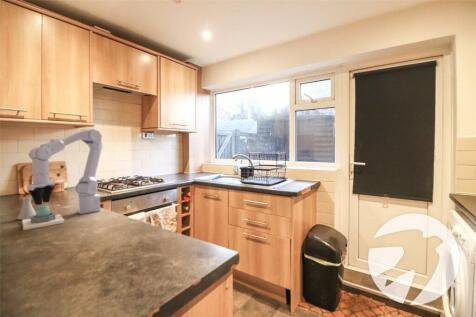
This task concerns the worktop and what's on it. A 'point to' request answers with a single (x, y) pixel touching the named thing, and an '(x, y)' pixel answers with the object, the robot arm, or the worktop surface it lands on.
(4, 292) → the worktop surface
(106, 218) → the worktop surface
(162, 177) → the worktop surface
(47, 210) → the cap
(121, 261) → the worktop surface
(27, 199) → the flask
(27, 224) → the mount
